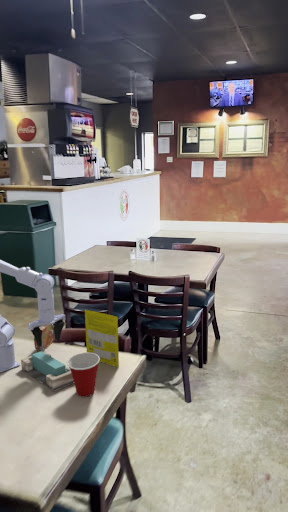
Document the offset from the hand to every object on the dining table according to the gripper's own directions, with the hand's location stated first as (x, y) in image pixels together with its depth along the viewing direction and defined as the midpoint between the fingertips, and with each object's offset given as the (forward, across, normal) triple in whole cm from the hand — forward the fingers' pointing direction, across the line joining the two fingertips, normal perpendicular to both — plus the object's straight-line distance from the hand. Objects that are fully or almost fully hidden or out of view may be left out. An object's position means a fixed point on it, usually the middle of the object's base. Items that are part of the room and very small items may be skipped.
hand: (48, 342), depth 163 cm
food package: (+10, +16, -12) cm, 22 cm away
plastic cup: (+10, -2, -25) cm, 27 cm away
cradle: (+9, -4, -6) cm, 12 cm away
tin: (+10, +8, +17) cm, 21 cm away
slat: (+8, -4, -6) cm, 11 cm away
